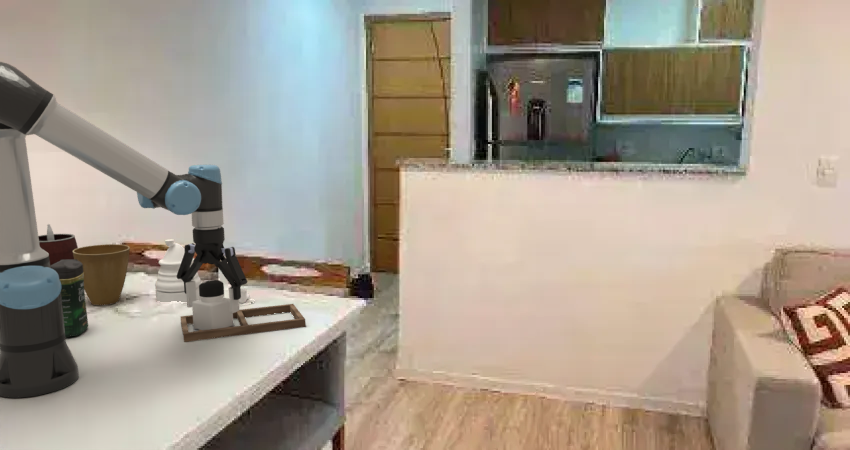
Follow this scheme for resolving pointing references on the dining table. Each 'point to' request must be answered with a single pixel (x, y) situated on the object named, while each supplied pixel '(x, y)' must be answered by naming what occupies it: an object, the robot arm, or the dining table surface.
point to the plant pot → (103, 271)
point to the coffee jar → (72, 296)
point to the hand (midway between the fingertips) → (213, 309)
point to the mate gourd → (58, 245)
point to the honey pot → (172, 275)
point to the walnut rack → (244, 326)
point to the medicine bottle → (211, 307)
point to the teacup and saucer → (244, 297)
